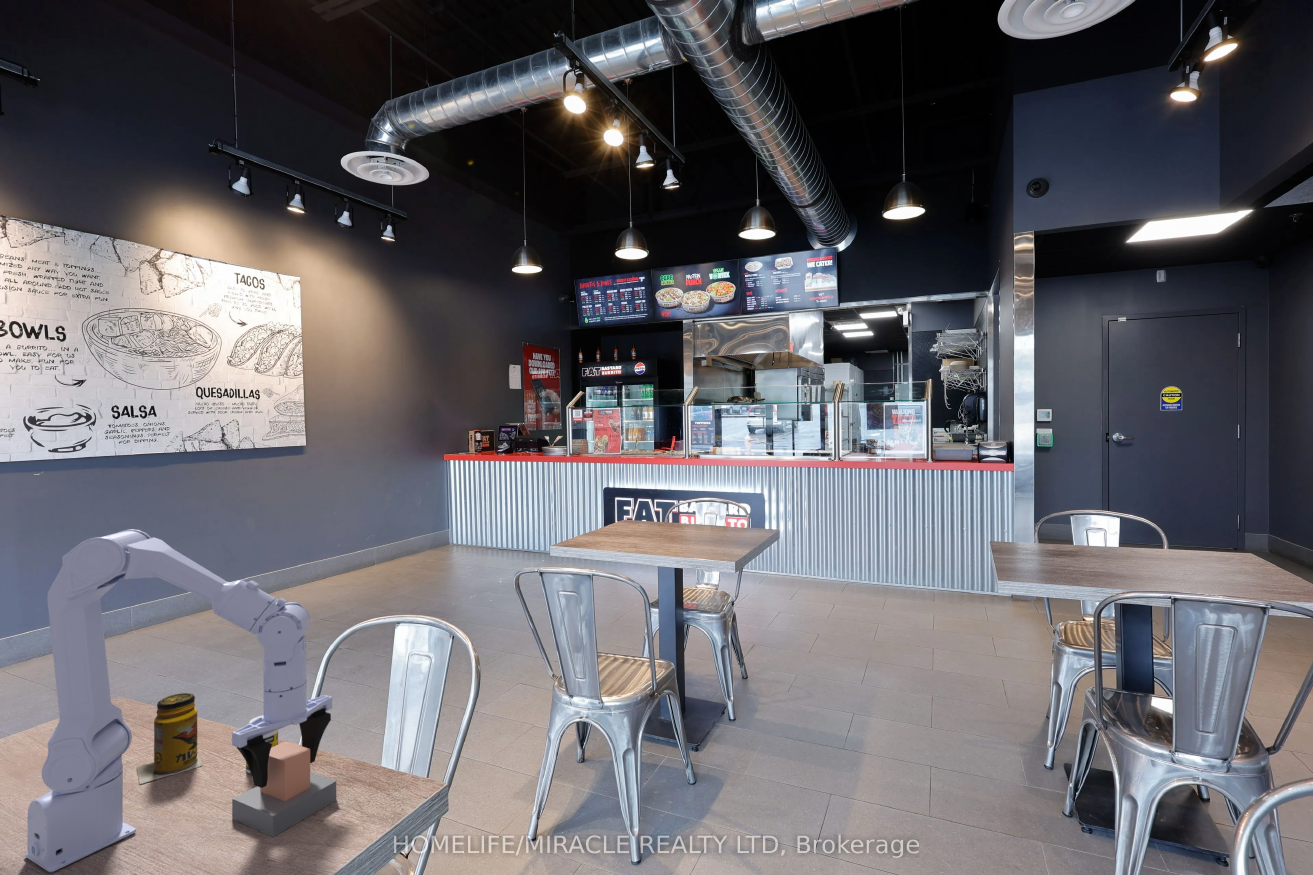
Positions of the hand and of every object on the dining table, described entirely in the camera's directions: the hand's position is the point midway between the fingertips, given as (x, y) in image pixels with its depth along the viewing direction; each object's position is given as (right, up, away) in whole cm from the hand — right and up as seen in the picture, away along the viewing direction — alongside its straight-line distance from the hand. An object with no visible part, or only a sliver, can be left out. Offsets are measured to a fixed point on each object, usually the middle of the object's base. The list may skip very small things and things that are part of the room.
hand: (285, 772), depth 94 cm
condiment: (-28, -6, +13) cm, 32 cm away
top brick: (0, -3, 0) cm, 3 cm away
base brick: (0, -6, 0) cm, 6 cm away
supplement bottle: (-12, -6, +12) cm, 18 cm away
